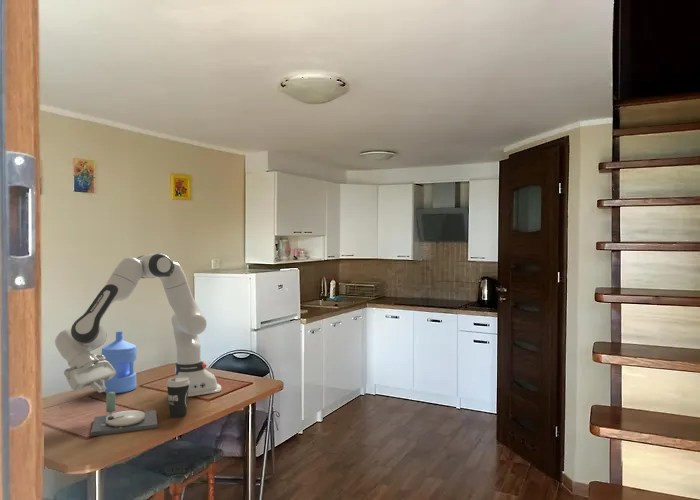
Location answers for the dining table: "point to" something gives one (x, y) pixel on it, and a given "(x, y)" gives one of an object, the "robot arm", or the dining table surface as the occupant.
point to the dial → (121, 413)
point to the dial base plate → (103, 428)
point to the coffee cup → (178, 396)
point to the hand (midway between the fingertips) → (102, 390)
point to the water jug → (121, 365)
